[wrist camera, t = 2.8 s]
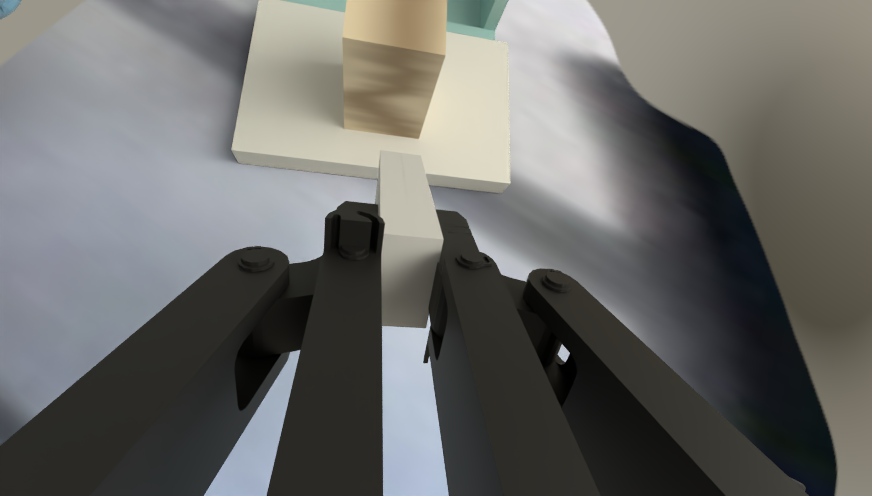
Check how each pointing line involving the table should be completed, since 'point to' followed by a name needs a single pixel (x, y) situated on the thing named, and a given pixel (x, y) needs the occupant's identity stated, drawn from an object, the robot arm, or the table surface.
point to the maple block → (391, 63)
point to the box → (466, 14)
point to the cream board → (324, 105)
